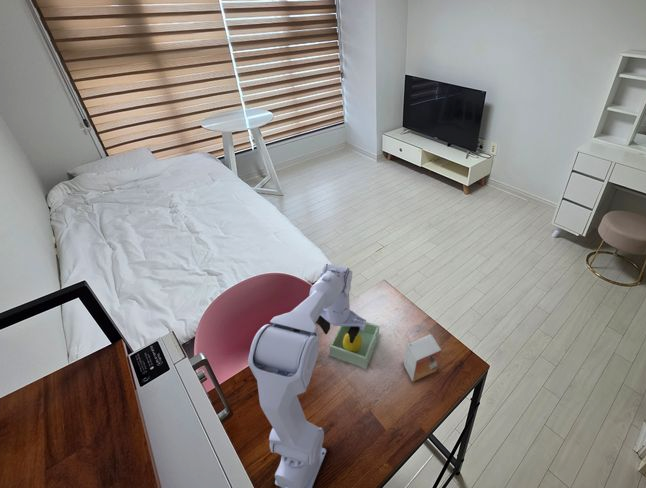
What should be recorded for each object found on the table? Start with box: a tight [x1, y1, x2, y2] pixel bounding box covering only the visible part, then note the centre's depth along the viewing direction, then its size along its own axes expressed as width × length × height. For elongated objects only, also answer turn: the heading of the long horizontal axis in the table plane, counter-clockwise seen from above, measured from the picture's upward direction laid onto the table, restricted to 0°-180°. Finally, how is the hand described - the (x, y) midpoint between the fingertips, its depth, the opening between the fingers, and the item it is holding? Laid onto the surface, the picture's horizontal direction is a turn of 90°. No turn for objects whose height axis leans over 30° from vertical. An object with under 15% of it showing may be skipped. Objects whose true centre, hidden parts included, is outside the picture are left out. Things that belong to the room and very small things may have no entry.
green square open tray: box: [329, 321, 380, 370], centre depth 98 cm, size 11×11×5 cm
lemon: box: [343, 333, 362, 353], centre depth 95 cm, size 6×6×8 cm
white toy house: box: [403, 333, 442, 383], centre depth 91 cm, size 8×6×10 cm
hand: (339, 335), depth 90 cm, fingers open, 7 cm apart
